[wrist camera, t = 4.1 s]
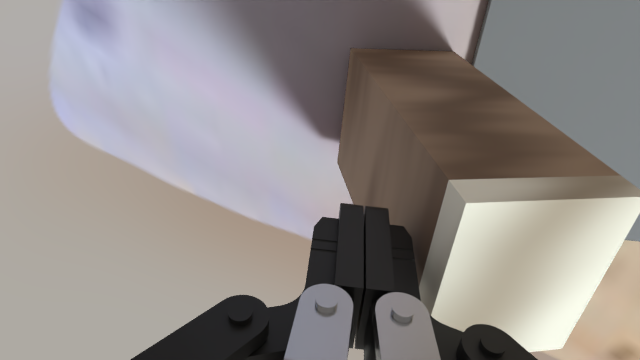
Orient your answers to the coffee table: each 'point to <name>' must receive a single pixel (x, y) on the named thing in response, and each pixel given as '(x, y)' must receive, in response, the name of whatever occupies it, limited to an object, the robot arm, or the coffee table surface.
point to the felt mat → (572, 71)
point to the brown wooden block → (481, 193)
